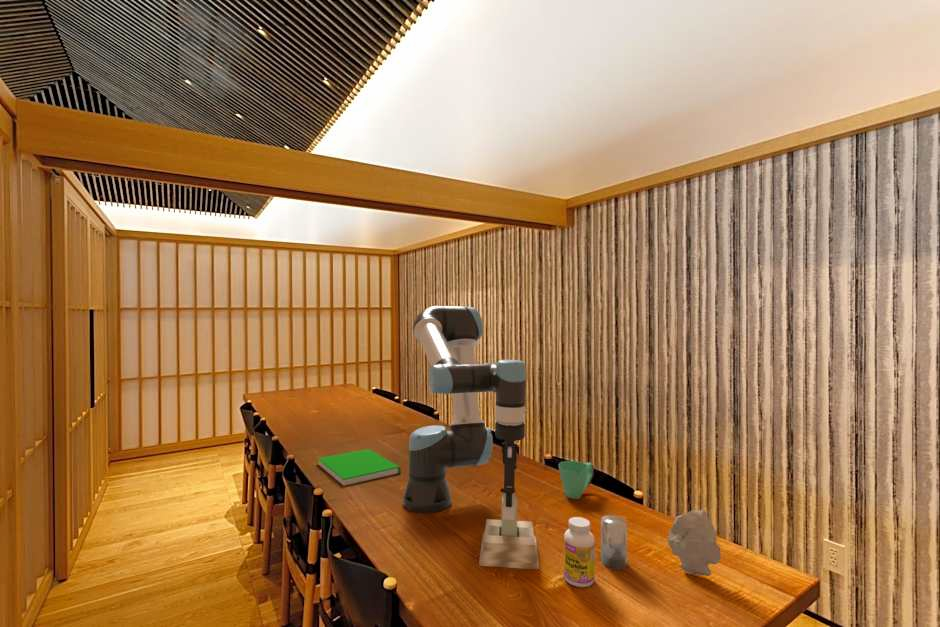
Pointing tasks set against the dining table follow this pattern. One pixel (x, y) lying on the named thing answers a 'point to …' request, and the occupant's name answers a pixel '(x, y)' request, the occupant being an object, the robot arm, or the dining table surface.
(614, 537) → the clear glass cylinder
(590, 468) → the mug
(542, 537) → the dining table surface
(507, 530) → the square peg
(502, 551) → the socket block
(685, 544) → the stone tool
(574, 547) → the supplement bottle
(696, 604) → the dining table surface
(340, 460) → the book
